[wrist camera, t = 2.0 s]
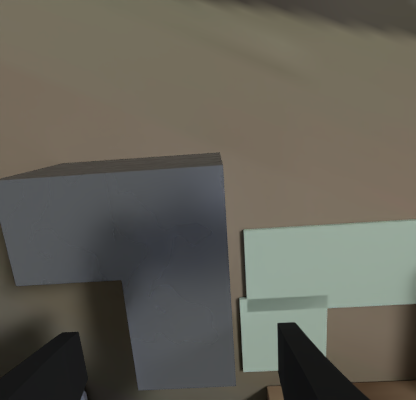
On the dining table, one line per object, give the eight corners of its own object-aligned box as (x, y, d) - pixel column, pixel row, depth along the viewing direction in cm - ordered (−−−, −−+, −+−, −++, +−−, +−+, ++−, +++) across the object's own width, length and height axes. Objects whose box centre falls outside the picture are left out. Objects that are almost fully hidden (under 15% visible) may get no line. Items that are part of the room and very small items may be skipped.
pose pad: (438, 217, 15) (441, 219, 15) (421, 361, 17) (423, 364, 17) (235, 230, 16) (236, 231, 16) (243, 369, 18) (243, 372, 18)
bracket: (229, 311, 17) (236, 385, 12) (90, 319, 17) (43, 394, 12) (219, 152, 15) (222, 165, 10) (61, 163, 15) (-10, 181, 10)
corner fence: (267, 407, 18) (284, 494, 14) (262, 235, 16) (280, 277, 11) (484, 399, 18) (571, 487, 14) (518, 220, 15) (638, 258, 11)
